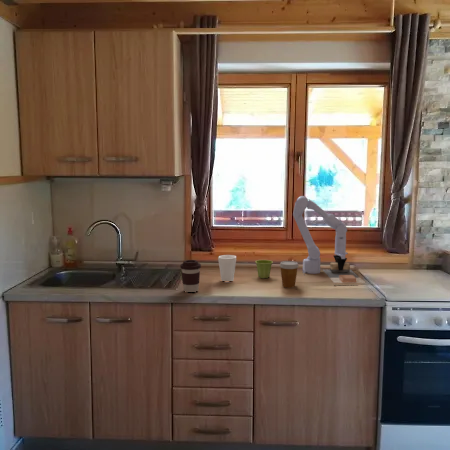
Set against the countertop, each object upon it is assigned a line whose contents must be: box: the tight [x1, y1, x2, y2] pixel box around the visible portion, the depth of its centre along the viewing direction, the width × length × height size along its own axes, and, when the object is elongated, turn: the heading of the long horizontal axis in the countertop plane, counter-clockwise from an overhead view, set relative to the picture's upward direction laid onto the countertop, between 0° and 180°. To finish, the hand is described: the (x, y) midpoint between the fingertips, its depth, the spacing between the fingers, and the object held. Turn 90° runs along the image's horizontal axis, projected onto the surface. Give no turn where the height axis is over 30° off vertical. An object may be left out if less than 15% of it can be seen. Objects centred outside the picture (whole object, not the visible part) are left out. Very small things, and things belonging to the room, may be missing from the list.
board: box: [322, 268, 366, 287], centre depth 252 cm, size 16×28×2 cm, turn 0°
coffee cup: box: [179, 259, 202, 293], centre depth 229 cm, size 10×10×15 cm
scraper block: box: [329, 261, 351, 272], centre depth 258 cm, size 10×4×4 cm, turn 90°
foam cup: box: [217, 254, 237, 282], centre depth 248 cm, size 10×9×13 cm
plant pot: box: [255, 259, 274, 279], centre depth 255 cm, size 9×9×9 cm
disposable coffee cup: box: [279, 260, 299, 289], centre depth 237 cm, size 10×10×12 cm
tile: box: [339, 275, 356, 282], centre depth 242 cm, size 7×7×2 cm
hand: (339, 269), depth 259 cm, fingers closed on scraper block, 4 cm apart
